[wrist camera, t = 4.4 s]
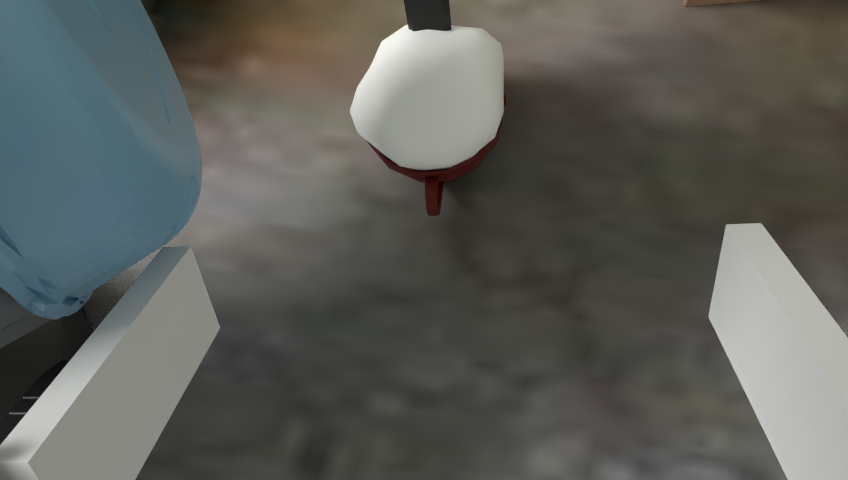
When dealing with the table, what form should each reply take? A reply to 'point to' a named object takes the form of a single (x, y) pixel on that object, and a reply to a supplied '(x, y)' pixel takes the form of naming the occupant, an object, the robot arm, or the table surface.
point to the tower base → (711, 2)
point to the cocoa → (432, 98)
